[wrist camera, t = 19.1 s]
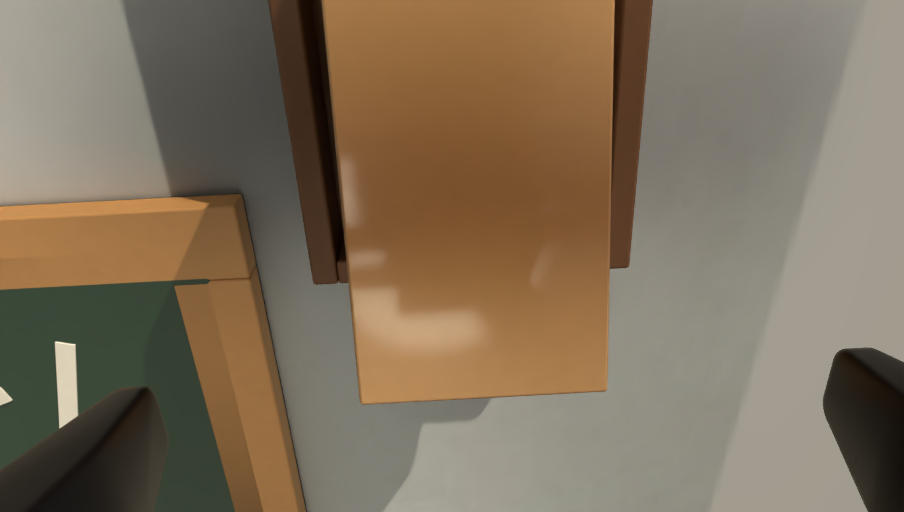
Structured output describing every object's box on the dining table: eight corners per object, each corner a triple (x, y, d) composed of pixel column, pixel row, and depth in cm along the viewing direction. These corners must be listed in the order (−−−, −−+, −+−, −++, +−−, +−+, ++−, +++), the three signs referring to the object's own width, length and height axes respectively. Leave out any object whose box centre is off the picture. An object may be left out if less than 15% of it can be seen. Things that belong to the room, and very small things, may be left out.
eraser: (341, -101, 14) (306, -155, 10) (567, -111, 14) (618, -170, 10) (376, 321, 16) (360, 406, 13) (567, 311, 17) (608, 392, 13)
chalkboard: (242, 192, 17) (234, 206, 17) (339, 673, 27) (337, 696, 26) (-413, 226, 17) (-450, 242, 16) (-81, 697, 27) (-96, 721, 26)
